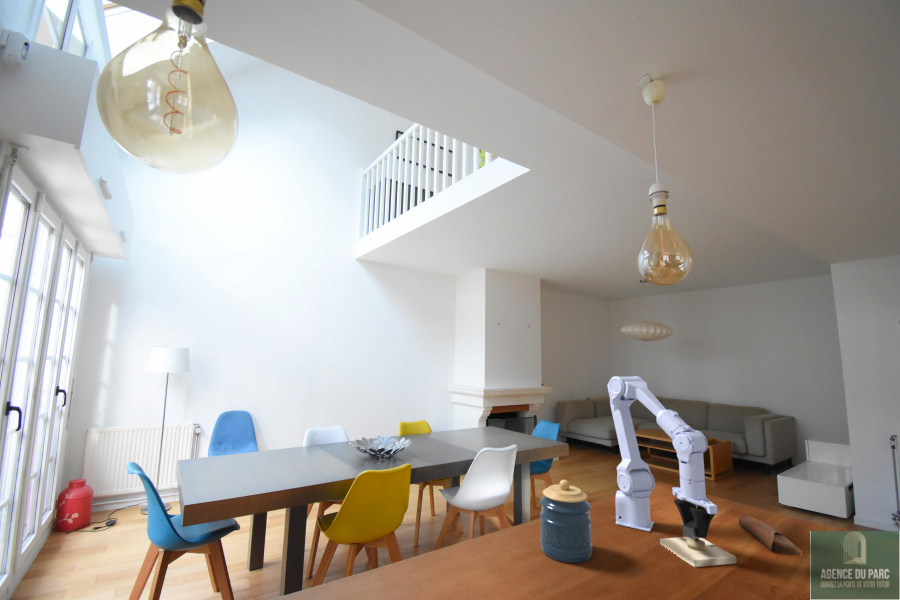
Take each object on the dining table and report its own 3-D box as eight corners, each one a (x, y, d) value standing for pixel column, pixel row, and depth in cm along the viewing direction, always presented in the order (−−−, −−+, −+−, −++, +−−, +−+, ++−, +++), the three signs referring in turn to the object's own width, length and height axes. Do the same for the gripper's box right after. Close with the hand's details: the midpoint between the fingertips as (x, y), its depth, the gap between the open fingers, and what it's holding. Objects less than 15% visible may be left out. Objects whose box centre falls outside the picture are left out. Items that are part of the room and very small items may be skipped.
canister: (601, 551, 106) (598, 480, 109) (578, 570, 97) (576, 491, 99) (555, 536, 115) (554, 470, 117) (530, 551, 106) (529, 479, 108)
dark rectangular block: (683, 542, 105) (682, 525, 105) (697, 533, 110) (696, 517, 111) (694, 546, 103) (693, 528, 103) (708, 537, 108) (707, 520, 109)
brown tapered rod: (809, 556, 105) (792, 531, 107) (784, 568, 106) (767, 543, 107) (769, 528, 123) (755, 506, 124) (747, 538, 124) (733, 517, 125)
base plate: (694, 567, 99) (693, 553, 99) (660, 544, 111) (659, 532, 111) (736, 563, 101) (735, 550, 102) (698, 541, 113) (698, 530, 113)
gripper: (661, 470, 115) (663, 522, 113) (696, 487, 101) (700, 546, 99) (684, 470, 116) (687, 521, 114) (723, 486, 102) (727, 545, 100)
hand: (695, 533), depth 107 cm, fingers closed on dark rectangular block, 4 cm apart
